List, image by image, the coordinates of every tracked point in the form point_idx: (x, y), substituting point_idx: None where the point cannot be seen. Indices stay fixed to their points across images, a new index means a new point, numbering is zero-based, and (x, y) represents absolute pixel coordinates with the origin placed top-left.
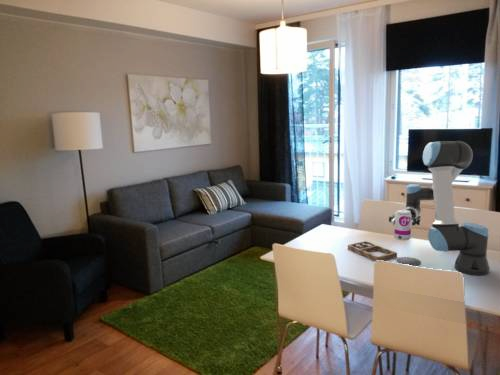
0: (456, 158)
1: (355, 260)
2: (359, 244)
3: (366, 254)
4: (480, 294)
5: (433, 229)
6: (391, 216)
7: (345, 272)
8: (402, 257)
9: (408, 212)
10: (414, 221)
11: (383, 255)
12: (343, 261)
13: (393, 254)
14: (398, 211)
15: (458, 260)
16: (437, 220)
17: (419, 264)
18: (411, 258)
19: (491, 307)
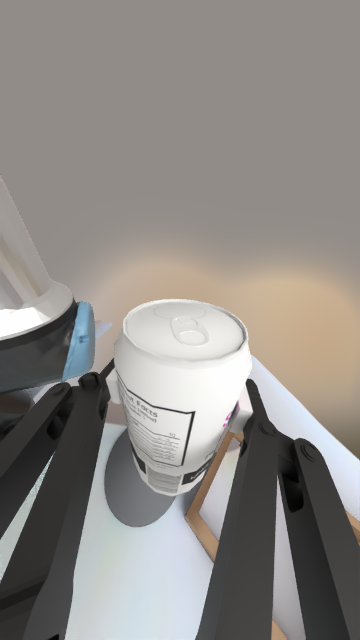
0: None
1: (281, 422)
2: None
3: None
4: None
5: (89, 304)
6: (332, 511)
7: (253, 360)
8: (163, 506)
9: (149, 302)
10: (101, 380)
11: (225, 446)
12: (296, 407)
13: (198, 490)
14: (221, 320)
15: (13, 409)
16: (53, 283)
17: (120, 437)
18: (128, 503)
19: (95, 322)
